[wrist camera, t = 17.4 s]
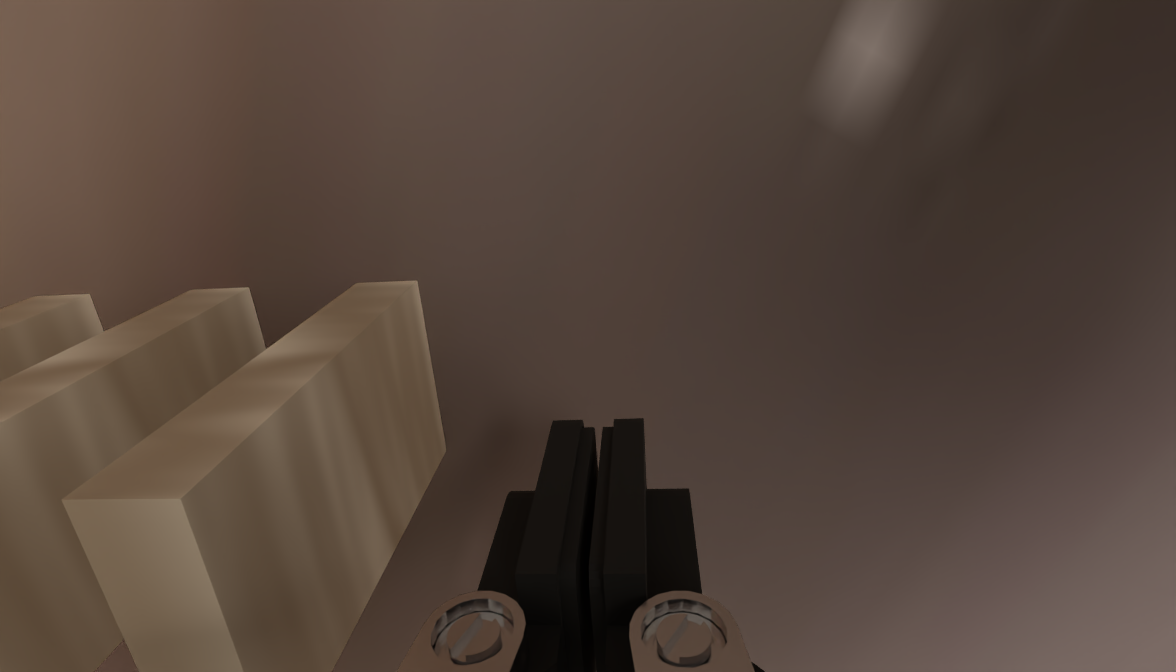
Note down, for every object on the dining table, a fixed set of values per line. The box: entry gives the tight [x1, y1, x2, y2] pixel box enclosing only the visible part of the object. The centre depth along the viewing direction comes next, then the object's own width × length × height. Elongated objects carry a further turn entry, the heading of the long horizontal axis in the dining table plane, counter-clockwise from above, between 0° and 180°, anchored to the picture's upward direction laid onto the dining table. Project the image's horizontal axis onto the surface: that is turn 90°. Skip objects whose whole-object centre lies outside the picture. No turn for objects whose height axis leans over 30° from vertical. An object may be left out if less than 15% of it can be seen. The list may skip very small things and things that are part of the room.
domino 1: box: [0, 287, 266, 672], centre depth 13 cm, size 2×5×9 cm, turn 4°
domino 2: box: [62, 280, 446, 672], centre depth 13 cm, size 2×5×9 cm, turn 4°
